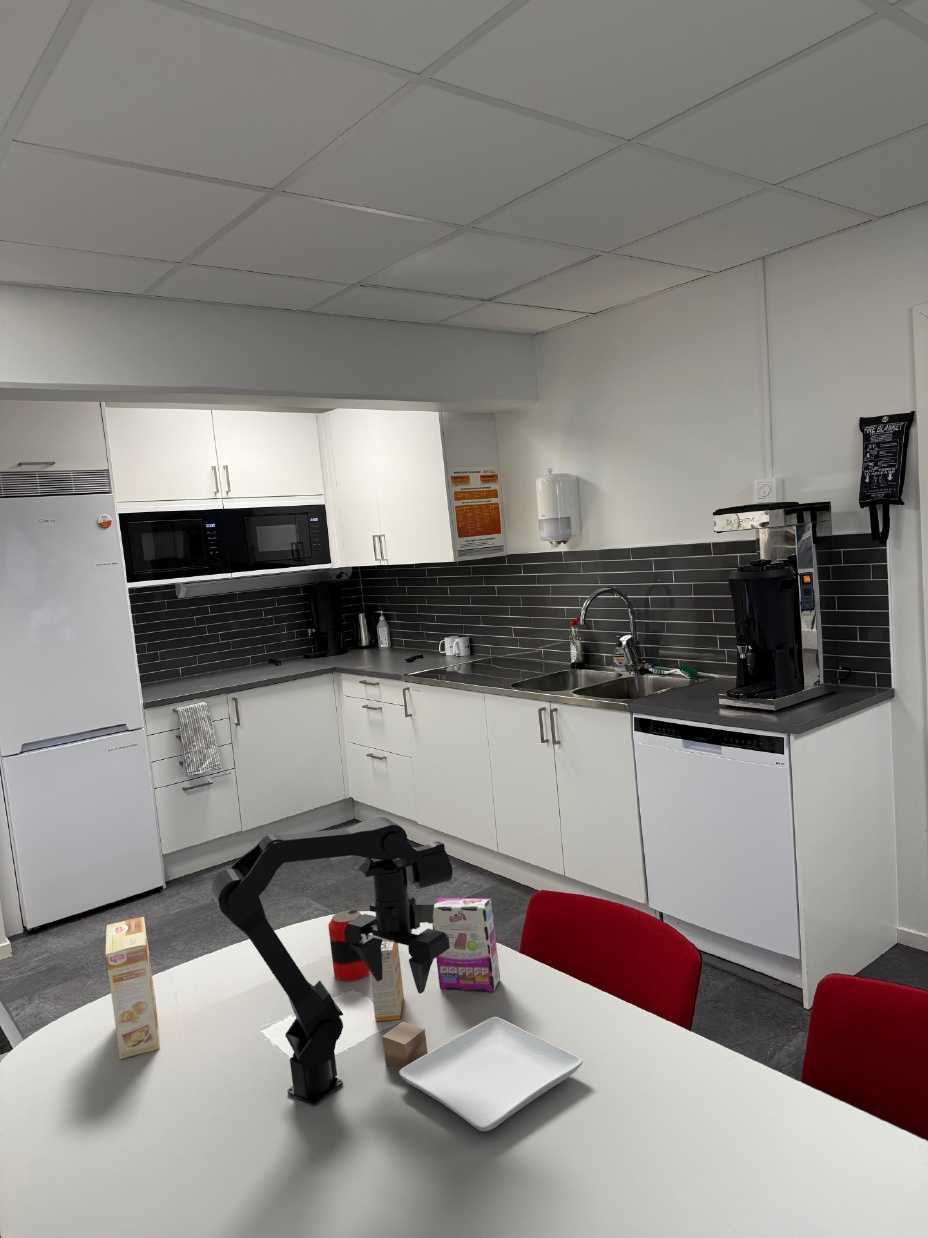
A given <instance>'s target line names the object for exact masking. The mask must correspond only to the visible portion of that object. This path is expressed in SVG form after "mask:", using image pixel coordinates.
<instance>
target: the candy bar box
mask: <svg viewBox="0 0 928 1238" xmlns="http://www.w3.org/2000/svg"><path fill="white" fill-rule="evenodd" d="M433 904H434V912H433V921H432V923H431V924H432V929H433V930H437V931H442V932H445V933H446V934H447V935H448V937H449V946H450V948H449V949H448V950H446V951H445V952H443V953H442V954H440V955H439V956H438V957H436V958H435V959H436V967H437V974H438V975H437V976H438V985H439V989H440V990H445V991H446V990H447V991H448V990H449V991H450V990H451V991H469V992H470V991H472V992H475V991H476V992H495V991H496V989H497V987H498V985H499V983H500V981H501V974H500V965H499V963H500V962H499V957H498V948H497V939H496V930H495V922H494V921H495V920H494V912H493V906H492V905H493V904H492V898H476V897H475V898H473V897H472V898H469V897H468V898H467V897H466V898H462V897H461V898H460V897H459V898H458V897H457V898H454V897H453V898H451V897H450V898H449V897H448V898H447V897H442V898H441V897H438V898H437V899H436V900H435V902H434V903H433Z"/></svg>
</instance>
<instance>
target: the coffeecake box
mask: <svg viewBox="0 0 928 1238" xmlns="http://www.w3.org/2000/svg"><path fill="white" fill-rule="evenodd" d="M145 923H146V920H145V917H144V916H139V917H135V918H131V919H126V920H123V921H118V922H114V923H109V924H107V925H106V930H105V931H106V933H105V958H106V964H107V973H108V981H109V988H110V995H111V1001H112V1011H113V1016H114V1017H113V1018H114V1024H115V1025H114V1026H115V1030H116V1031H115V1032H116V1038H117V1040H116V1041H117V1045H118V1056H119V1060H120V1061H121V1060H123V1059H127V1058H131V1057H134V1056H138V1055H141V1054H145V1053H150V1052H153V1051H156V1050H157V1051H158V1050H159V1049H161V1045H160V1044H161V1043H160V1041H161V1040H160V1032H159V1030H160V1029H159V1022H158V1011H157V1009H158V1008H157V1003H156V1002H157V1001H156V994H155V989H154V988H155V986H154V980H153V971H152V967H151V966H152V965H151V957H150V949H149V942H148V937H147V930H146V924H145Z"/></svg>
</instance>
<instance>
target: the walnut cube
mask: <svg viewBox="0 0 928 1238" xmlns="http://www.w3.org/2000/svg"><path fill="white" fill-rule="evenodd" d="M381 1037H382V1045H383V1054H384V1061H385V1066H386V1067H390V1068H394V1069H395V1070H397V1071H400V1070H401V1069H402V1068H404V1067H405V1066H407V1065H408V1064H410V1063H412V1062H413V1061H415V1060H417V1059H419V1058H421V1057H422V1056H424V1055H426V1054H428V1053H429V1052H428V1046H427V1045H428V1044H427V1036H426V1029H425V1028H423V1027H420V1026H417V1025H414V1024H411V1023H408V1022H405V1021H401V1022H400V1023H399V1024H397V1025H395V1026H394V1027H393V1028H392V1029H390V1030H389V1031H387V1032H386V1033H385V1034H384V1035H382V1036H381Z"/></svg>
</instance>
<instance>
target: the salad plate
mask: <svg viewBox="0 0 928 1238" xmlns="http://www.w3.org/2000/svg"><path fill="white" fill-rule="evenodd" d="M583 1060H584V1059H582V1058H581V1057H579V1056H577V1055H575V1054H573V1053H572V1052H570V1051H568V1050H565V1049H563V1048H561V1047H558V1046H557V1045H555V1044H552V1043H551V1042H549V1041H546V1040H545V1039H543V1038H541V1037H539V1036H537V1035H535V1034H533V1033H531V1032H528V1031H526V1030H524V1029H522V1028H521V1027H518V1026H517V1025H516V1024H513V1023H512V1022H509V1021H507V1020H505V1019H503V1018H501V1017H498V1016H493V1017H490V1018H488V1019H486V1020H484V1021H482V1022H480V1023H478V1024H477V1025H475V1026H473V1027H471V1028H469V1029H468V1030H466V1031H464V1032H462V1033H461V1034H459V1035H457V1036H455V1037H453V1038H452V1039H450V1040H448V1041H447V1042H444V1044H441V1045H440V1046H438V1047H436V1048H435V1049H433V1050H431V1051H429V1052H428V1054H426V1055H424V1056H422V1057H421V1058H419V1059H417V1060H415V1061H413V1062H412V1063H410V1064H408V1065H407V1066H405V1067H404V1068H402V1069H401V1070H398V1073H399V1076H400V1077H401V1078H402V1079H403V1080H404V1081H405V1082H406V1083H407V1084H408V1085H409V1084H410V1085H411V1086H412V1087H414V1088H416V1089H418V1090H419V1091H421V1092H423V1093H424V1094H426V1095H428V1096H429V1097H431V1098H432V1099H434V1100H436V1101H437V1102H439V1103H440V1104H442V1105H444V1106H445V1107H447V1108H448V1109H449V1110H450V1111H452V1112H454V1113H455V1114H457V1115H458V1116H459V1117H461V1118H462V1119H463V1120H464V1121H466V1122H467V1123H468V1124H470V1125H471V1126H472V1127H474V1128H475V1129H476V1130H477V1131H480V1132H489V1131H492V1130H494V1129H495V1128H496V1127H498V1126H500V1124H502V1123H503V1122H504V1121H506V1120H507V1119H509V1118H510V1117H511V1116H513V1115H514V1114H516V1113H517V1112H518V1111H521V1109H523V1108H524V1107H526V1106H527V1105H528V1104H531V1102H533V1101H534V1100H535V1099H537V1098H539V1097H540V1096H542V1095H543V1094H545V1093H546V1092H548V1091H549V1090H550V1089H552V1088H554V1087H555V1086H556V1085H558V1084H560V1083H562V1082H563V1081H564V1080H566V1079H568V1078H569V1077H571V1076H572V1075H573V1074H574V1073H575V1072H577V1071H578V1069H580V1067H581V1066H582V1065H583V1062H584V1061H583Z"/></svg>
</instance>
